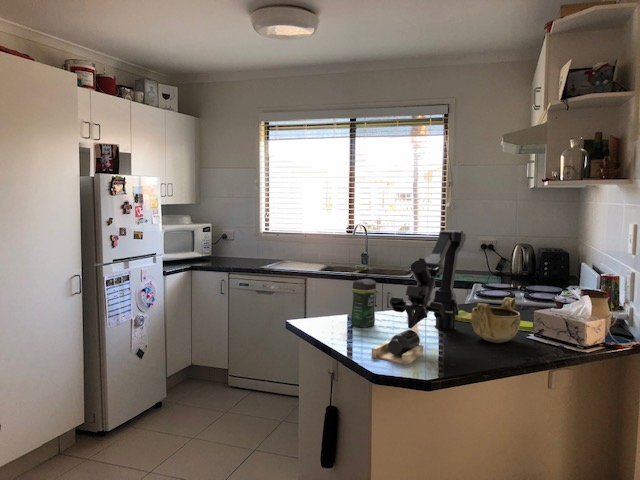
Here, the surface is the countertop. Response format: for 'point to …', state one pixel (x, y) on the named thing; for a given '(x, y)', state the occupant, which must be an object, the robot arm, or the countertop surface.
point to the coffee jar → (363, 303)
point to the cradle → (406, 358)
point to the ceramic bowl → (496, 321)
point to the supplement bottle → (403, 342)
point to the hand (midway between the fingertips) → (409, 327)
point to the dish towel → (467, 318)
